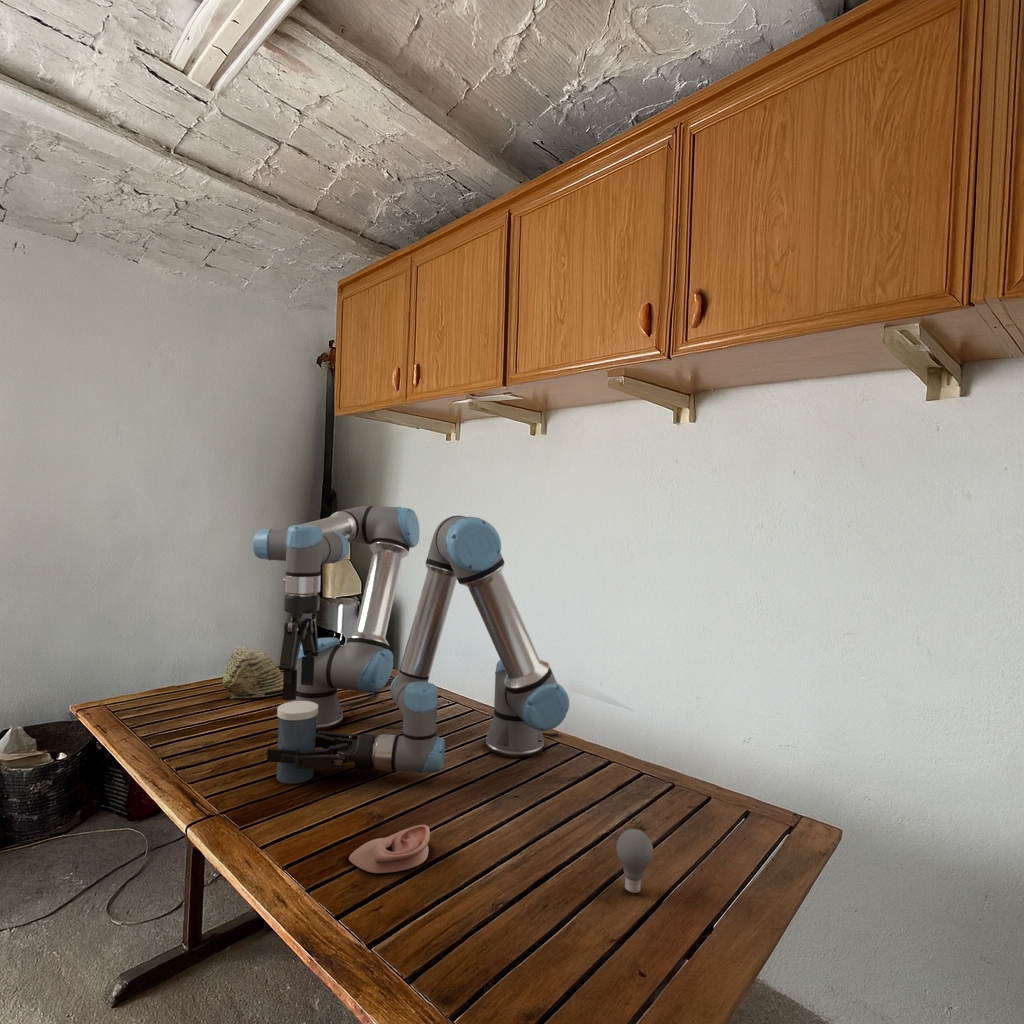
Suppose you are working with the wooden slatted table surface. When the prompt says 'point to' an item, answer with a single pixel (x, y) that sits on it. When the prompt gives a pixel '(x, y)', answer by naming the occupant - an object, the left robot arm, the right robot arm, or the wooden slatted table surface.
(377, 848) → the anatomical model
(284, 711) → the lid
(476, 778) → the wooden slatted table surface
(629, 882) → the light bulb
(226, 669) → the fossil
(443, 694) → the wooden slatted table surface
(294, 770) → the jar
